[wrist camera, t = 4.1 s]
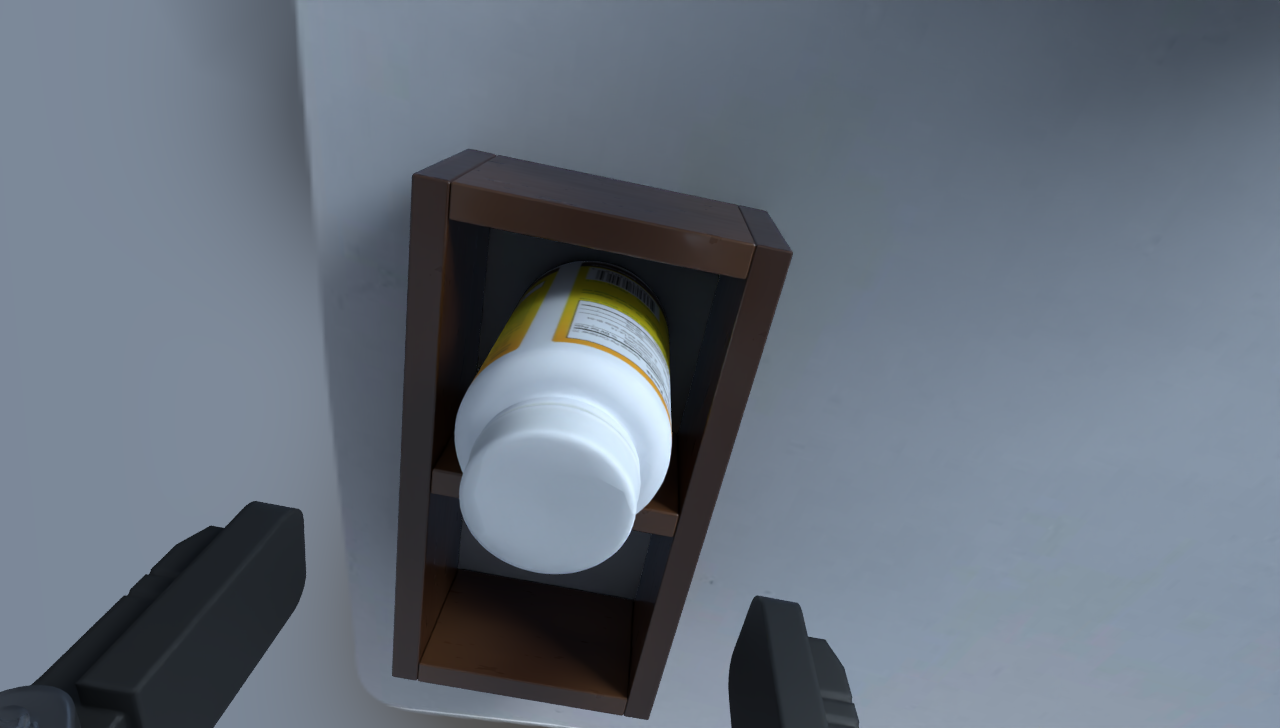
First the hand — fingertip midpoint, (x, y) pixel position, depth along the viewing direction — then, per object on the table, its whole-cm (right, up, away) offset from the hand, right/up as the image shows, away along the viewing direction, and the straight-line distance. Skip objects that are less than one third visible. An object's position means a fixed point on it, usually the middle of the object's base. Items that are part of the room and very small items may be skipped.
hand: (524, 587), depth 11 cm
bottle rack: (0, +2, +14) cm, 14 cm away
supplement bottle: (0, +5, +12) cm, 13 cm away
